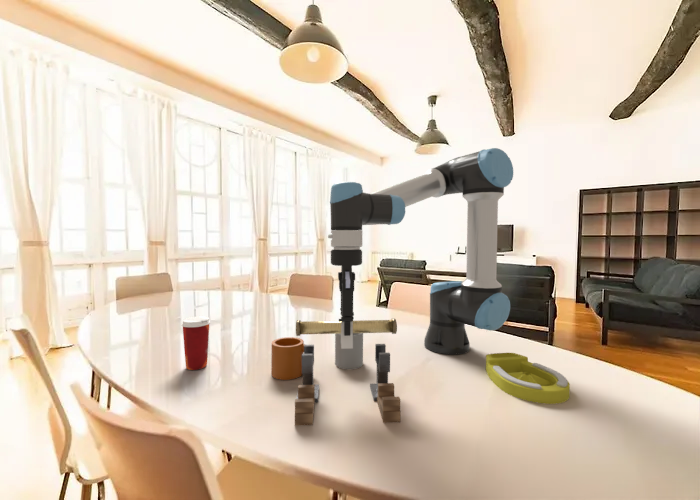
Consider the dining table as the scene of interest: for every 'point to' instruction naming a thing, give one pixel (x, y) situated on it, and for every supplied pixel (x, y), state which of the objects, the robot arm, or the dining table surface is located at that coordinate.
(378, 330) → the rail
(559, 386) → the ashtray
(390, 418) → the rest
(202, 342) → the paper cup
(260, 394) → the dining table surface
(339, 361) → the cup
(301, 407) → the rest
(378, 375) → the post
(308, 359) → the post
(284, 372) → the mug
